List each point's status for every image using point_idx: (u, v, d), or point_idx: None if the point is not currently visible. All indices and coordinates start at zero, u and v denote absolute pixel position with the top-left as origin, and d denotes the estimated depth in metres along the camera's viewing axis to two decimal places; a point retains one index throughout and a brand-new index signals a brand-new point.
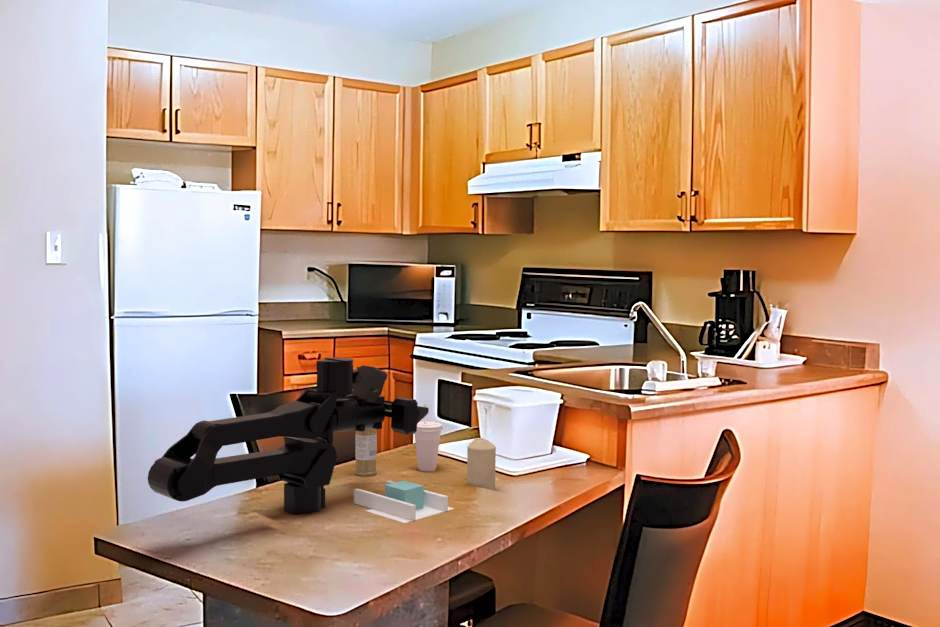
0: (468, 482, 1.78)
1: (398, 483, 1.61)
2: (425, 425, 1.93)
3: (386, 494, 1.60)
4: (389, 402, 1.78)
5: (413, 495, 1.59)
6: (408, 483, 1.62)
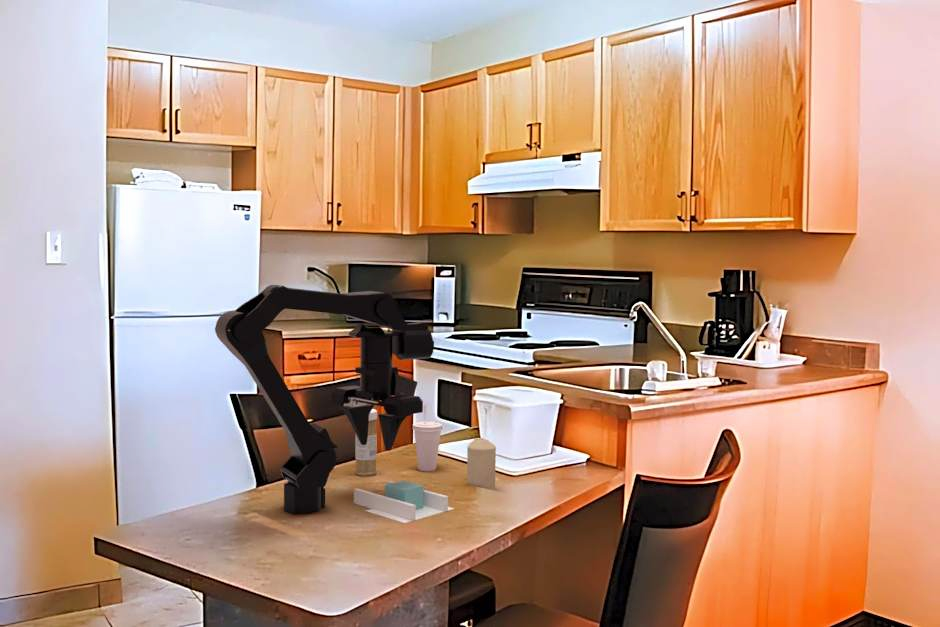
0: (468, 482, 1.78)
1: (398, 483, 1.61)
2: (425, 425, 1.93)
3: (386, 494, 1.60)
4: (366, 435, 1.67)
5: (413, 495, 1.59)
6: (408, 483, 1.62)
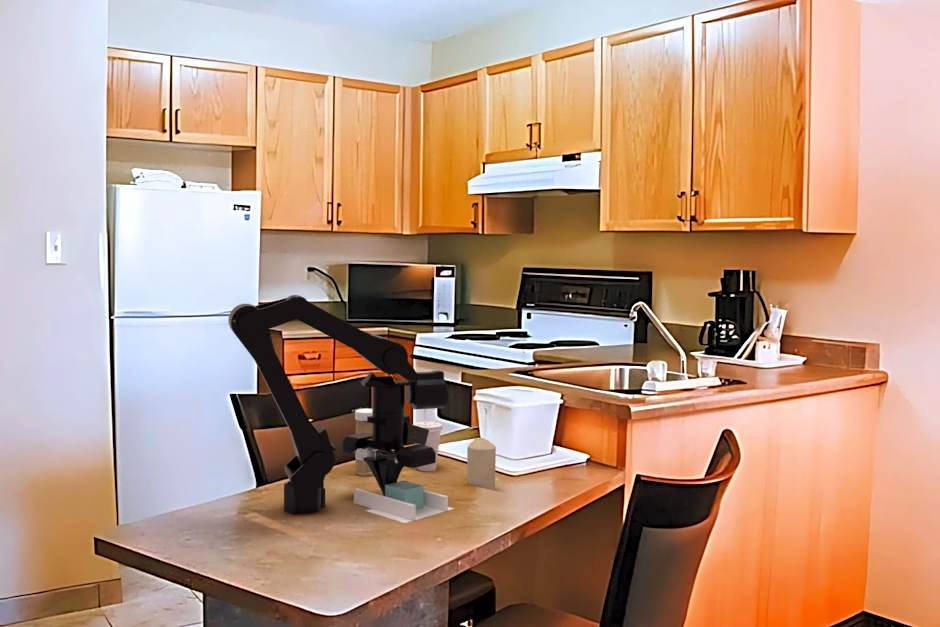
0: (468, 482, 1.78)
1: (398, 483, 1.61)
2: (425, 425, 1.93)
3: (386, 494, 1.60)
4: None
5: (413, 495, 1.59)
6: (408, 483, 1.62)
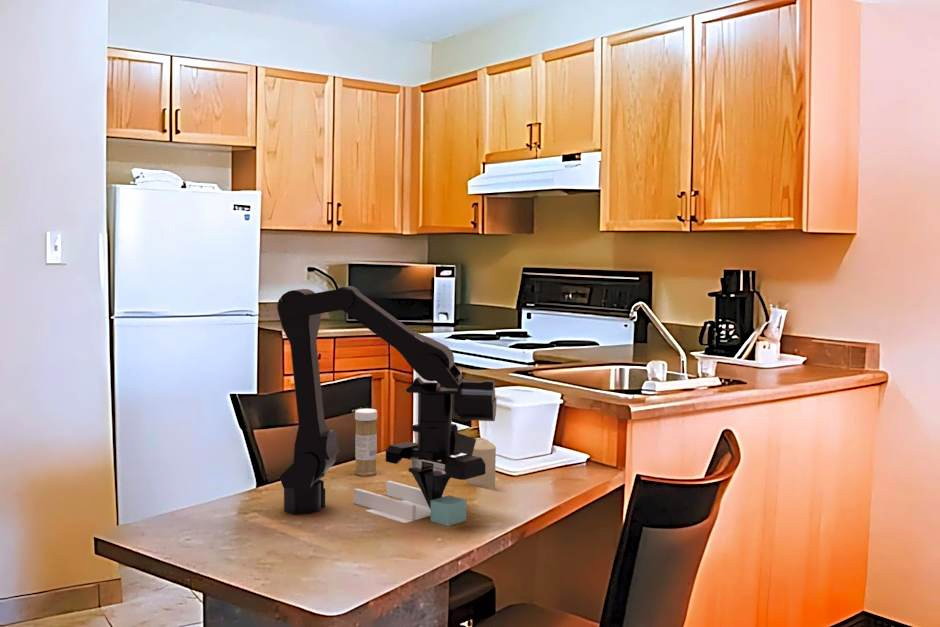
0: (468, 482, 1.78)
1: (457, 507, 1.52)
2: None
3: (441, 505, 1.51)
4: None
5: None
6: (462, 513, 1.53)
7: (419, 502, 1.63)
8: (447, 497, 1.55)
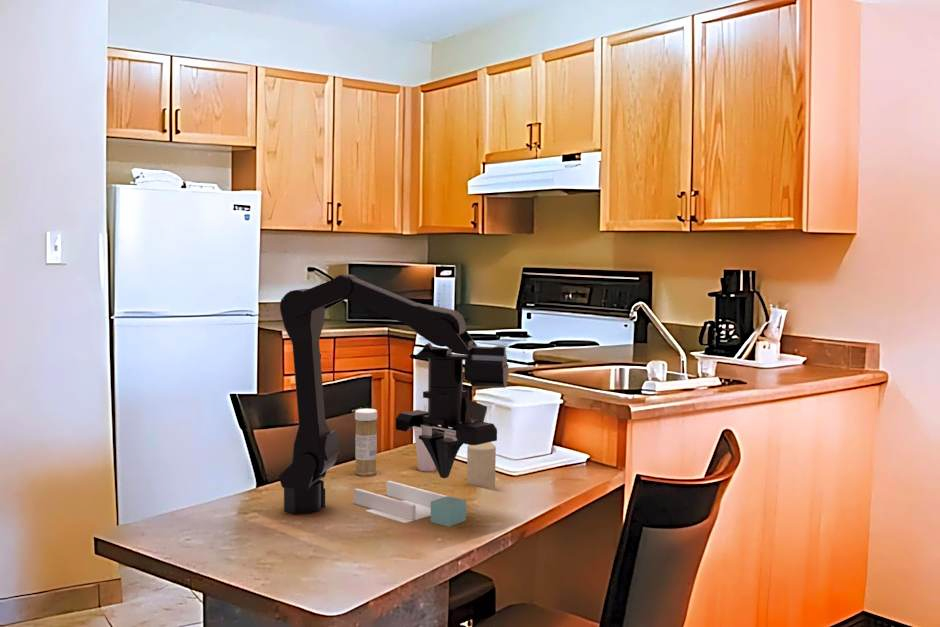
0: (468, 482, 1.78)
1: (458, 508, 1.52)
2: None
3: (441, 506, 1.51)
4: None
5: None
6: (462, 513, 1.53)
7: (419, 502, 1.63)
8: (447, 497, 1.55)
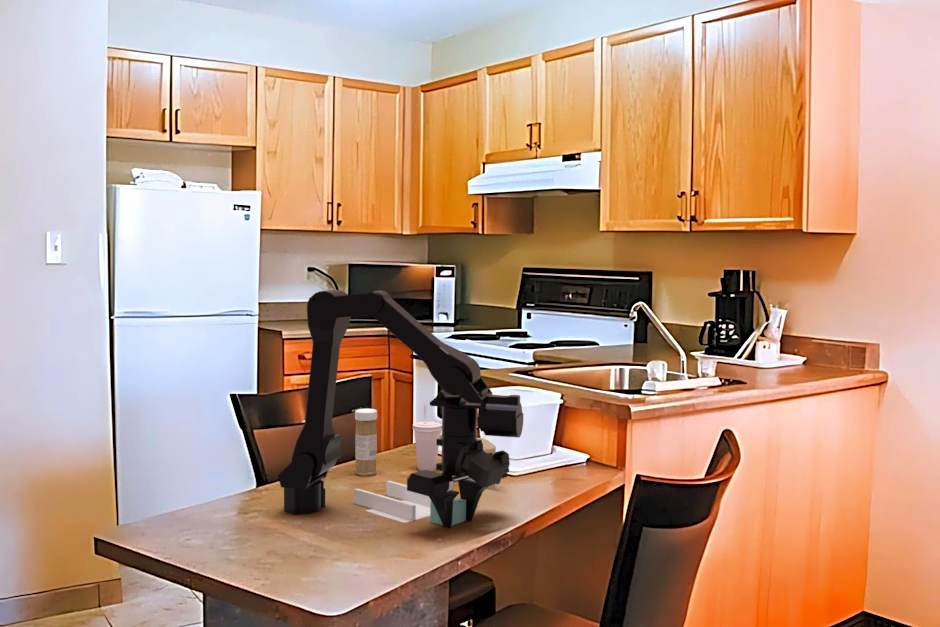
0: None
1: (458, 507, 1.52)
2: (425, 425, 1.93)
3: None
4: (469, 514, 1.53)
5: None
6: (462, 513, 1.53)
7: (419, 502, 1.63)
8: None
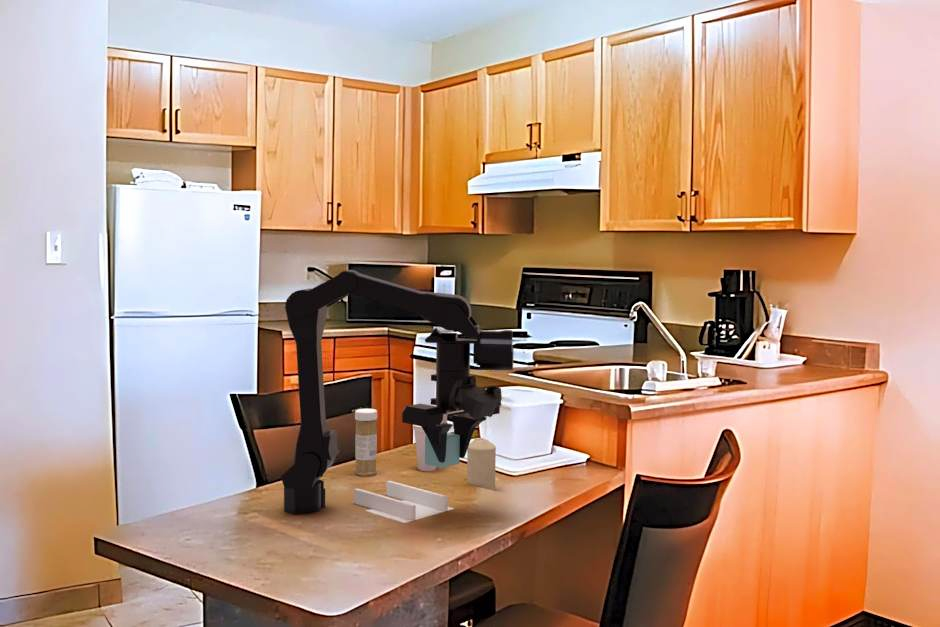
0: (468, 482, 1.78)
1: (451, 441, 1.56)
2: None
3: None
4: (463, 448, 1.57)
5: None
6: (456, 447, 1.57)
7: (419, 502, 1.63)
8: None
